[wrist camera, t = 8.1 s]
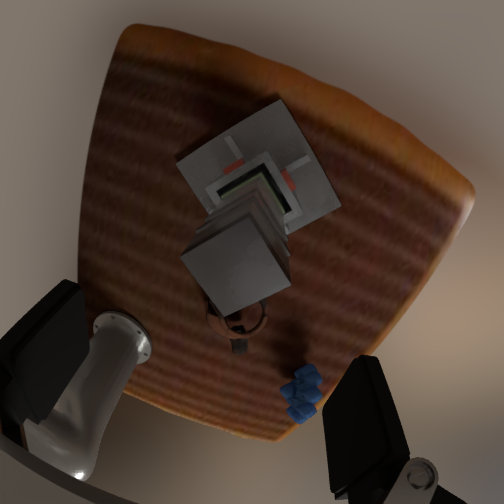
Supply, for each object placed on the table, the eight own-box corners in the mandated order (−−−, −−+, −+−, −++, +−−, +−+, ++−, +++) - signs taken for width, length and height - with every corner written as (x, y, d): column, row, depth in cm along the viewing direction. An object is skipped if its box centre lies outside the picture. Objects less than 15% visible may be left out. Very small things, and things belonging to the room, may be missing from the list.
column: (249, 218, 33) (223, 319, 16) (229, 185, 31) (175, 256, 14) (283, 199, 32) (295, 286, 14) (263, 165, 30) (249, 212, 13)
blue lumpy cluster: (290, 342, 48) (292, 396, 37) (326, 350, 49) (335, 402, 38) (269, 384, 53) (267, 434, 42) (302, 390, 53) (305, 439, 42)
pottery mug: (194, 282, 46) (204, 292, 38) (250, 268, 48) (270, 274, 41) (212, 350, 47) (224, 371, 39) (264, 334, 50) (284, 351, 42)
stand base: (240, 257, 43) (229, 297, 32) (177, 163, 38) (145, 175, 28) (339, 203, 38) (362, 230, 28) (280, 99, 34) (283, 87, 23)
